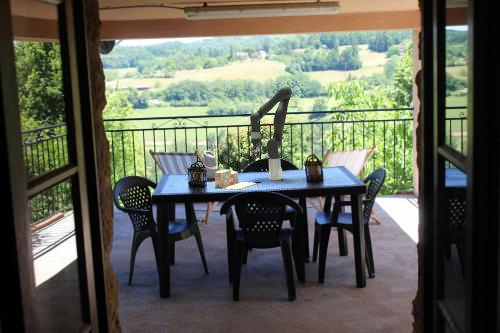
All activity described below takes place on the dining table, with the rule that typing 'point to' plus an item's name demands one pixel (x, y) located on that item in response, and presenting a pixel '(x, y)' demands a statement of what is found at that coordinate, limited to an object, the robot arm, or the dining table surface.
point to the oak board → (240, 185)
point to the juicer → (209, 165)
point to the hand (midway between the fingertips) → (255, 157)
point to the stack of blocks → (225, 178)
